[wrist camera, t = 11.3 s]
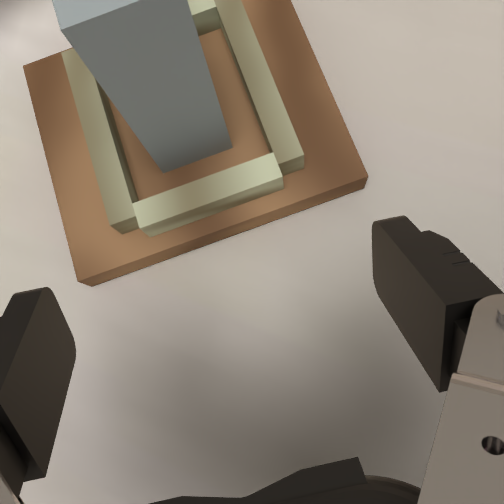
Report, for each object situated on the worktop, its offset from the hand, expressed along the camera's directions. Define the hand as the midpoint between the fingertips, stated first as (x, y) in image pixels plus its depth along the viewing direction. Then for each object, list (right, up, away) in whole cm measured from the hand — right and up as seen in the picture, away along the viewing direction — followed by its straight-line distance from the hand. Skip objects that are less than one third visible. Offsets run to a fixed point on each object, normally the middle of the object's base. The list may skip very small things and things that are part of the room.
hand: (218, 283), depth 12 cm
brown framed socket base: (-2, +7, +13) cm, 15 cm away
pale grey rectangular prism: (-3, +7, +11) cm, 14 cm away
